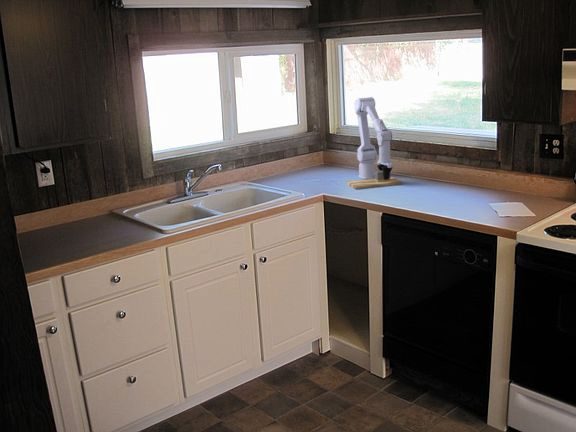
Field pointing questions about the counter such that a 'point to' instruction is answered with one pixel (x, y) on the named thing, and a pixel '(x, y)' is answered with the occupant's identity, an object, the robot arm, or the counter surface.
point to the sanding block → (380, 176)
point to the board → (373, 183)
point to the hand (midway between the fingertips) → (384, 178)
